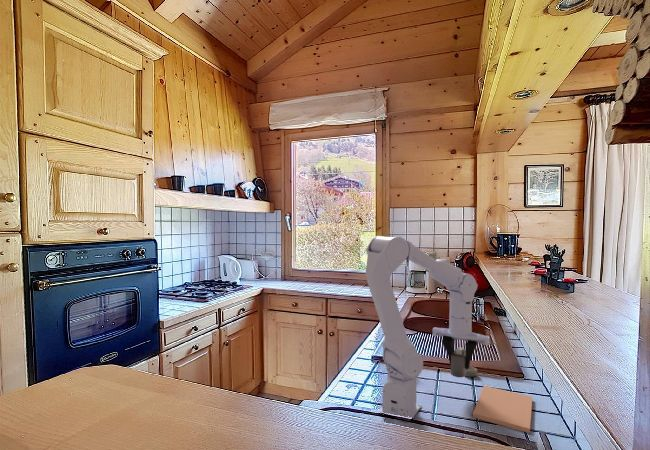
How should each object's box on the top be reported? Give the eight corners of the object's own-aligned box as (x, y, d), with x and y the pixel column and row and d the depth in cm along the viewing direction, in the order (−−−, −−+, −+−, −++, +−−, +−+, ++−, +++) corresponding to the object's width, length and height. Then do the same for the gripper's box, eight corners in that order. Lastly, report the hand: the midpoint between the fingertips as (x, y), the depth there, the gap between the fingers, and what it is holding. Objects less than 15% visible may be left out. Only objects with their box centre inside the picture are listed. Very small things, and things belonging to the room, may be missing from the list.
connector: (463, 378, 92) (463, 354, 92) (449, 375, 94) (450, 352, 94) (469, 367, 99) (469, 345, 99) (456, 365, 101) (456, 343, 101)
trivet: (529, 433, 80) (529, 428, 80) (473, 417, 86) (473, 413, 86) (532, 400, 95) (532, 396, 95) (483, 389, 101) (484, 385, 101)
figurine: (481, 376, 109) (478, 356, 110) (471, 379, 107) (468, 359, 108) (467, 372, 114) (465, 353, 115) (457, 375, 112) (455, 356, 113)
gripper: (491, 317, 96) (490, 367, 96) (437, 309, 104) (436, 356, 104) (487, 323, 90) (487, 376, 90) (430, 314, 98) (429, 363, 98)
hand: (459, 366), depth 96 cm, fingers closed on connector, 3 cm apart
